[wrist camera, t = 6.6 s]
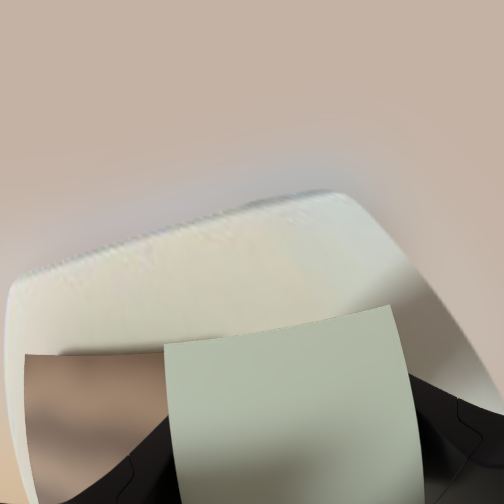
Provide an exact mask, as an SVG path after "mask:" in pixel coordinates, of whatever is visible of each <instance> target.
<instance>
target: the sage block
mask: <svg viewBox="0 0 504 504" xmlns="http://www.w3.org/2000/svg"><path fill="white" fill-rule="evenodd" d="M164 361H165V377H166V390H167V402H168V412H169V422H170V431H171V439H172V446H173V454H174V460H175V467H176V473H177V479H178V485H179V490H180V496H181V501H182V504H425V496H424V478H423V465H422V455H421V446H420V439H419V431H418V424H417V418H416V412H415V406H414V401H413V395H412V390H411V385H410V380H409V376H408V371H407V367H406V362H405V358H404V354H403V350H402V346H401V342H400V338H399V334H398V331H397V327H396V323H395V320H394V316H393V313H392V310H391V306H390V304H389V305H385V306H381V307H377V308H373V309H369V310H365V311H361V312H357V313H353V314H348V315H344V316H340V317H335V318H330V319H326V320H321V321H316V322H311V323H306V324H301V325H296V326H290V327H285V328H279V329H274V330H268V331H262V332H256V333H249V334H243V335H236V336H229V337H221V338H214V339H206V340H197V341H188V342H179V343H169V344H164Z"/></svg>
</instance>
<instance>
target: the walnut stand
mask: <svg viewBox="0 0 504 504" xmlns="http://www.w3.org/2000/svg"><path fill="white" fill-rule="evenodd" d="M24 406H25V423H26V435H27V444H28V451H29V458H30V464H31V470H32V475H33V480H34V485H35V490H36V494H37V498H38V502H39V504H59V503H63V502H65V501H68V500H70V499H71V498H73V497H75V496H76V495H78V494H79V493H81V492H82V491H83V490H85V489H86V488H88V487H89V486H91V485H92V484H93V483H95V482H96V481H98V480H99V479H100V478H102V477H103V476H104V475H105V474H107V473H108V472H109V471H111V470H112V469H113V468H114V467H115V466H116V465H117V464H118V463H120V462H121V461H122V460H123V459H124V458H125V457H126V456H127V455H129V453H130V452H131V451H132V450H133V449H134V448H135V447H136V446H137V445H138V444H139V443H140V442H141V441H143V440H144V439H145V438H146V437H147V436H148V435H149V434H150V433H151V432H152V431H153V430H154V429H155V428H156V427H157V426H158V425H159V424H160V423H161V422H162V421H163V419H164V418H165V417H166V416H167V415H168V414H169V412H168V402H167V390H166V377H165V361H164V352H158V353H143V354H125V355H95V356H57V355H28V354H25V365H24Z"/></svg>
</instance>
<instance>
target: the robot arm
mask: <svg viewBox="0 0 504 504" xmlns="http://www.w3.org/2000/svg"><path fill="white" fill-rule="evenodd" d="M408 376H409V380H410V385H411V390H412V395H413V401H414V406H415V412H416V418H417V424H418V431H419V439H420V446H421V455H422V465H423V478H424V496H425V504H504V415H501V414H497V413H494V412H491V411H488V410H486V409H483V408H480V407H478V406H475V405H473V404H471V403H468V402H466V401H464V400H462V399H460V398H458V399H457V397H455V396H453V395H451V394H449V393H447V392H445V391H443V390H441V389H439V388H437V387H435V386H433V385H431V384H429V383H427V382H425V381H423V380H421V379H419V378H417V377H415V376H413V375H411V374H409V373H408ZM0 504H5V503H0ZM59 504H182V501H181V496H180V490H179V485H178V479H177V473H176V467H175V460H174V454H173V446H172V439H171V431H170V422H169V414H168V415H167V416H166V417H165V418H164V419H163V421H162V422H161V423H160V424H159V425H158V426H157V427H156V428H155V429H154V430H153V431H152V432H151V433H150V434H149V435H148V436H147V437H146V438H145V439H144V440H143V441H141V442H140V443H139V444H138V445H137V446H136V447H135V448H134V449H133V450H132V451H131V452H130V453H129V455H127V456H126V457H125V458H124V459H123V460H122V461H121V462H120V463H118V464H117V465H116V466H115V467H114V468H113V469H112V470H111V471H109V472H108V473H107V474H105V475H104V476H103V477H102V478H100V479H99V480H98V481H96V482H95V483H93V484H92V485H91V486H89V487H88V488H86V489H85V490H83V491H82V492H81V493H79V494H78V495H76V496H75V497H73V498H71V499H70V500H68V501H65V502H63V503H59Z"/></svg>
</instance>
